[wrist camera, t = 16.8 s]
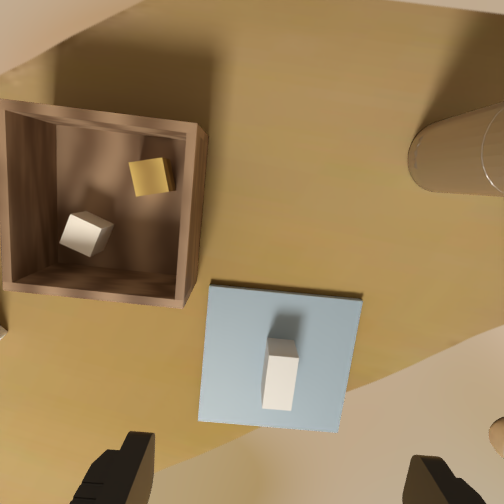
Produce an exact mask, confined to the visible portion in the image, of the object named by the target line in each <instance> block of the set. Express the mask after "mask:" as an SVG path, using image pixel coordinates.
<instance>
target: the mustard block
mask: <svg viewBox="0 0 504 504" xmlns="http://www.w3.org/2000/svg"><path fill="white" fill-rule="evenodd" d="M129 167H130V171H131V176H132V180H133V185H134V189H135V194H136V197H137V196H144V195H150V194H157V193H164V192H170V191H176V188H175V183H174V178H173V173H172V167H171V162H170V159H166V158H155V159H148V160H142V161H135V162H129Z"/></svg>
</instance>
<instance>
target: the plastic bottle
mask: <svg viewBox="0 0 504 504" xmlns="http://www.w3.org/2000/svg"><path fill="white" fill-rule="evenodd" d="M489 440H490V443H491V445H492V446H493V448H494V449H495V451H496V452H497V453H498V454H499V455H500V456H501V457H502V458H503V459H504V417H502V418H499V419H498V420H496V421H495V422H494V423H493V424H492V425H491V427H490V429H489Z"/></svg>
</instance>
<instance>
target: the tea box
mask: <svg viewBox="0 0 504 504" xmlns="http://www.w3.org/2000/svg"><path fill="white" fill-rule="evenodd" d="M6 334H7V330H5V329H4V328H3V327H2V326H1V325H0V340H1V339H2V338H3V337H4V336H5V335H6Z"/></svg>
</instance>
